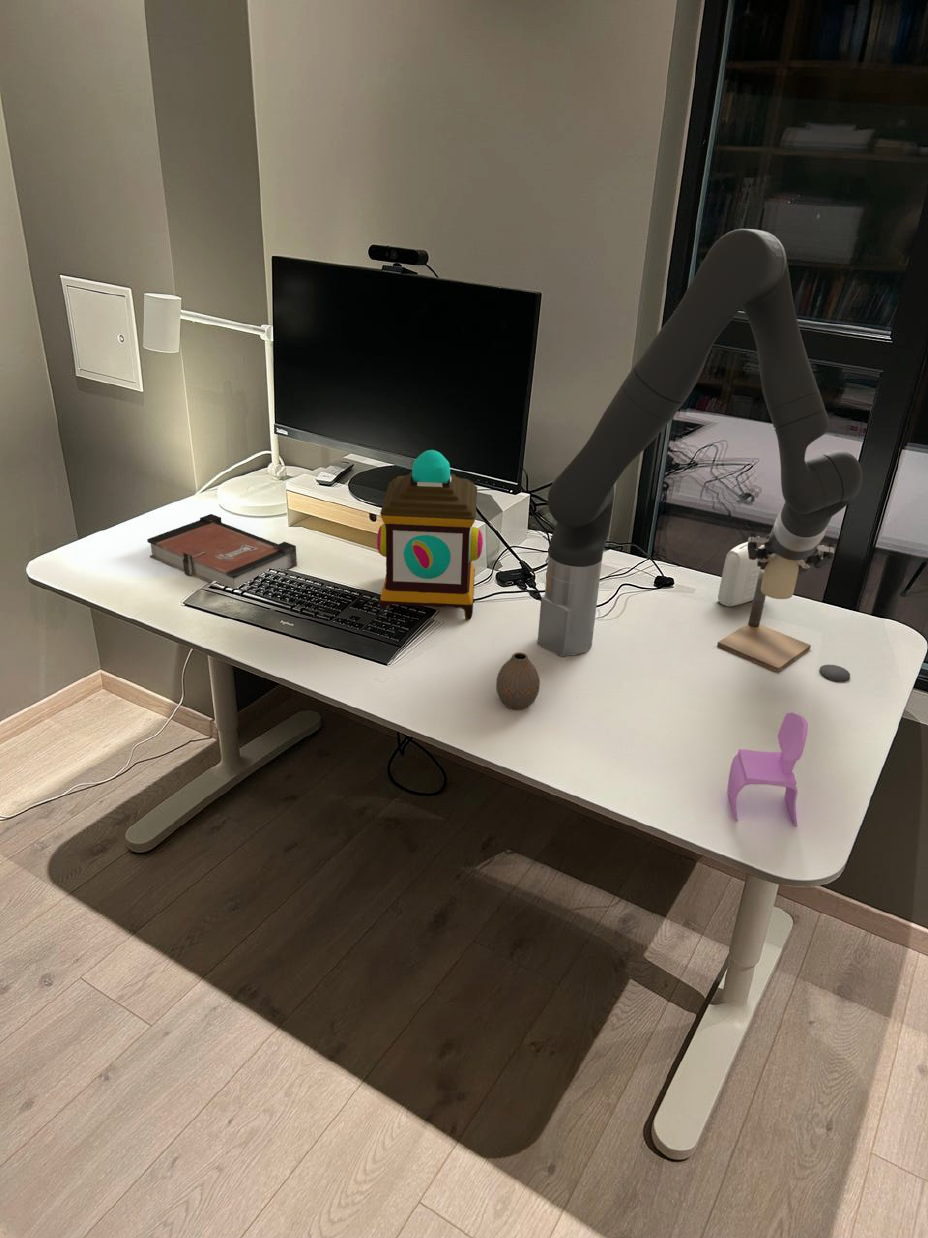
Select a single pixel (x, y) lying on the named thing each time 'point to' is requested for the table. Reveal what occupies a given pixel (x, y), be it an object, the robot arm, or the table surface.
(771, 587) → the candle
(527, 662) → the vase
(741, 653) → the stand with wooden base
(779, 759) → the toy chair
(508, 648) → the table surface
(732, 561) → the photo printer
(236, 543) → the book
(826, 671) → the pad
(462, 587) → the decorative lantern
